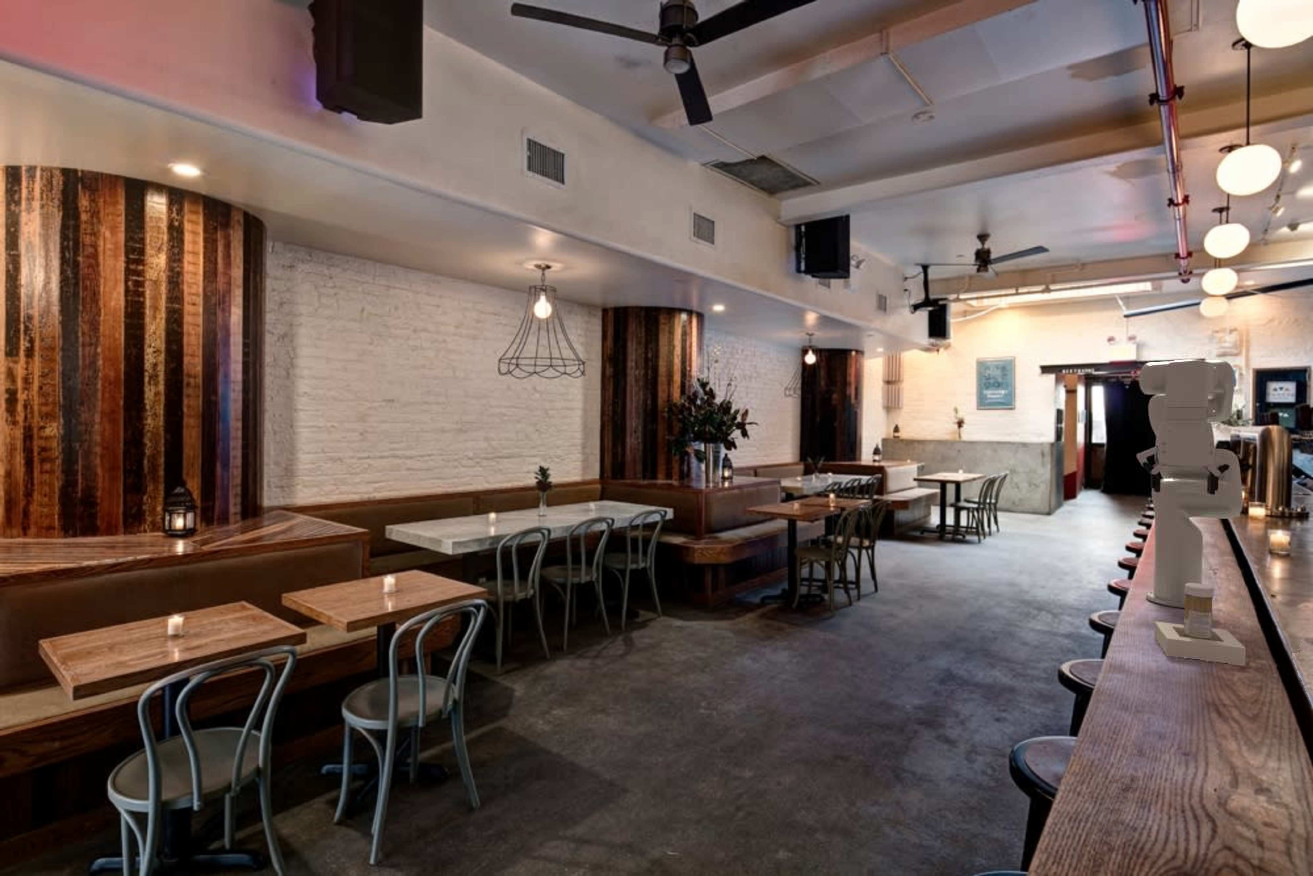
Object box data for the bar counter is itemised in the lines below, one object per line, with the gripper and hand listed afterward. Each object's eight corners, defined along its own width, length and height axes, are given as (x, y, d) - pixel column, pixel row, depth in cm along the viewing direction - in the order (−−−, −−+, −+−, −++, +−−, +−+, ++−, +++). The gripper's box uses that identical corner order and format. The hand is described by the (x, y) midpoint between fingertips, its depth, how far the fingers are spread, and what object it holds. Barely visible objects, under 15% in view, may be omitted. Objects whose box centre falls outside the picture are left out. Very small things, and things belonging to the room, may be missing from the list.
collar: (1154, 637, 142) (1154, 621, 142) (1226, 646, 136) (1226, 629, 136) (1166, 655, 131) (1167, 638, 131) (1245, 666, 126) (1245, 648, 126)
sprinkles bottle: (1185, 645, 137) (1187, 581, 137) (1214, 651, 134) (1216, 585, 133) (1180, 650, 134) (1182, 584, 134) (1209, 656, 131) (1211, 589, 130)
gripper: (1230, 415, 146) (1228, 493, 147) (1134, 415, 154) (1133, 489, 155) (1241, 416, 140) (1239, 496, 140) (1141, 416, 148) (1139, 492, 148)
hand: (1183, 492), depth 148 cm, fingers open, 9 cm apart
